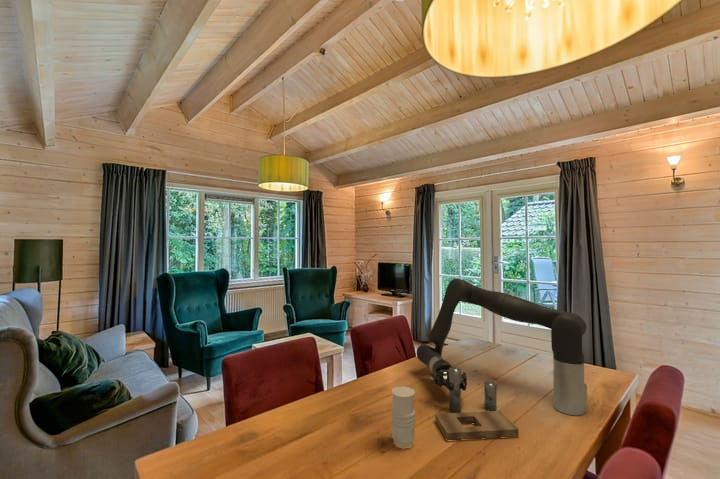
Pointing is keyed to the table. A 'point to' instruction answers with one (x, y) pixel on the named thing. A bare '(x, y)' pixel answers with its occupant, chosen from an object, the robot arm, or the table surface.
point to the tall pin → (455, 389)
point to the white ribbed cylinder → (403, 416)
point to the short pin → (490, 395)
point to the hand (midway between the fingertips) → (458, 388)
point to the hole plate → (486, 422)
